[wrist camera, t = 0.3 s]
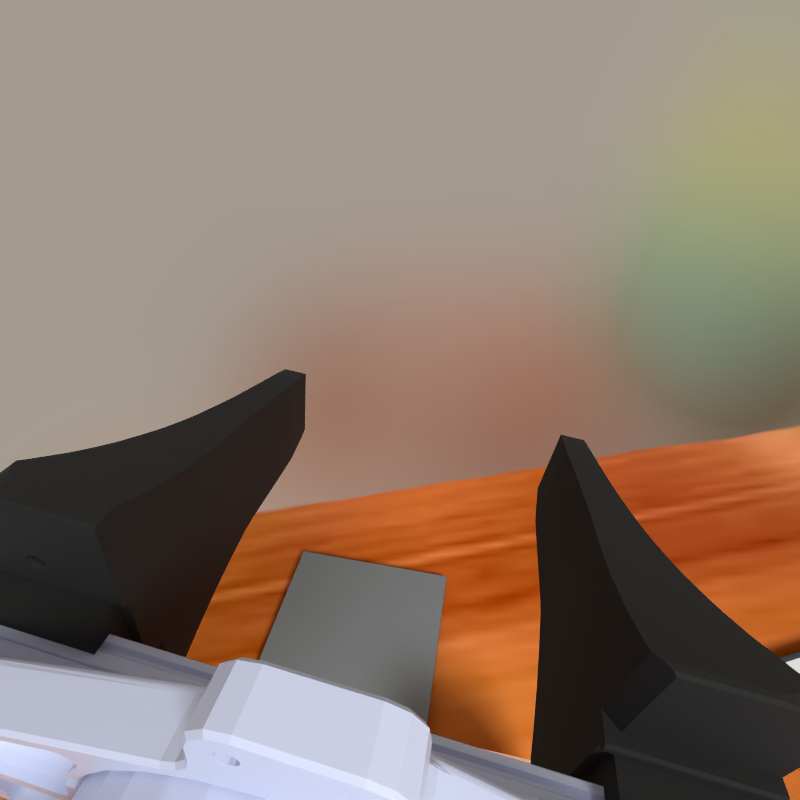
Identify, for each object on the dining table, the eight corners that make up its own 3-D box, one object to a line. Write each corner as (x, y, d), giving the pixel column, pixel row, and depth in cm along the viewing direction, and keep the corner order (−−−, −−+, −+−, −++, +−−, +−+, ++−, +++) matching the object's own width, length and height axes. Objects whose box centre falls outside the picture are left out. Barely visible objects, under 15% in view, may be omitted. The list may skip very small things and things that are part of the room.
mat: (390, 1002, 18) (390, 1002, 18) (152, 928, 20) (148, 927, 19) (445, 580, 32) (446, 576, 32) (304, 555, 34) (303, 551, 33)
